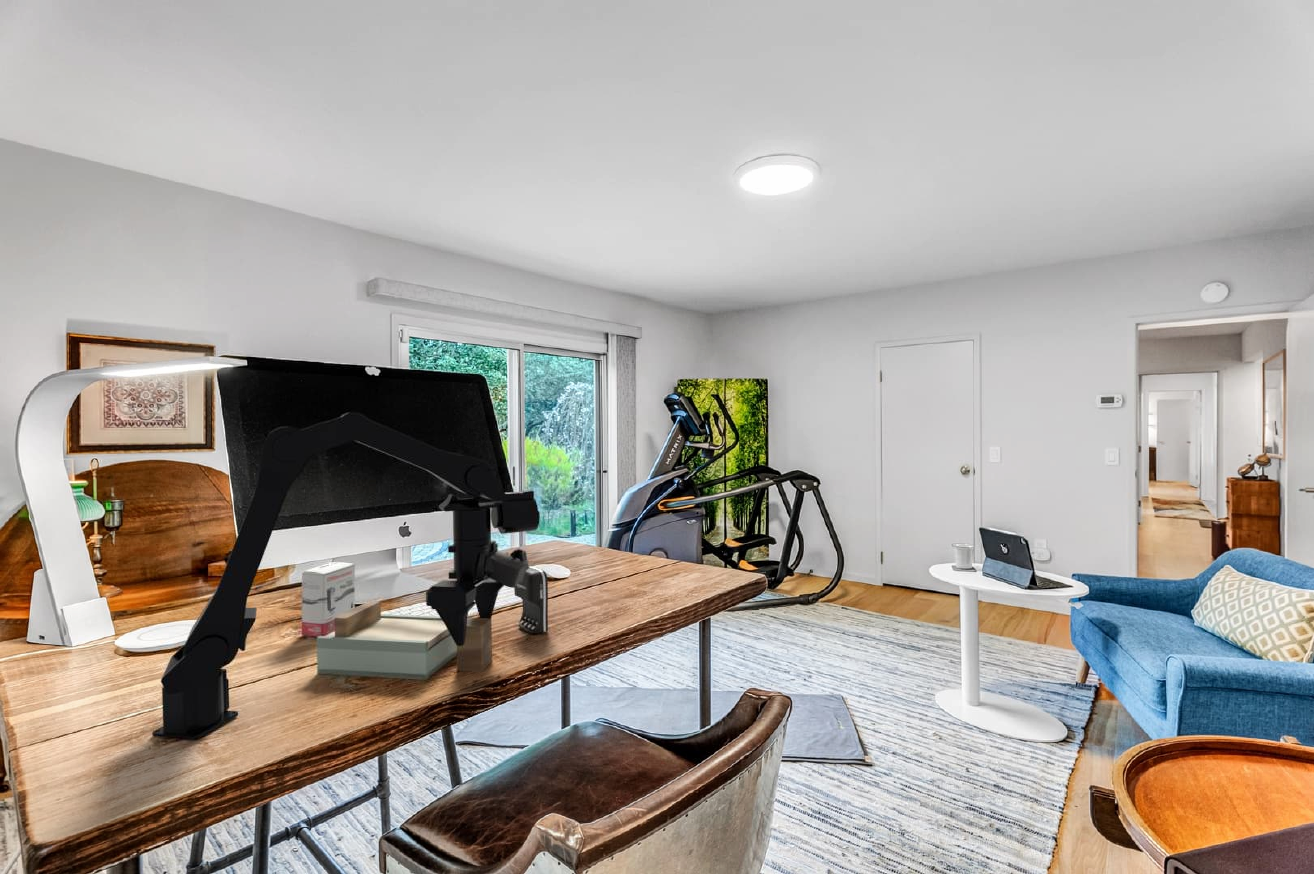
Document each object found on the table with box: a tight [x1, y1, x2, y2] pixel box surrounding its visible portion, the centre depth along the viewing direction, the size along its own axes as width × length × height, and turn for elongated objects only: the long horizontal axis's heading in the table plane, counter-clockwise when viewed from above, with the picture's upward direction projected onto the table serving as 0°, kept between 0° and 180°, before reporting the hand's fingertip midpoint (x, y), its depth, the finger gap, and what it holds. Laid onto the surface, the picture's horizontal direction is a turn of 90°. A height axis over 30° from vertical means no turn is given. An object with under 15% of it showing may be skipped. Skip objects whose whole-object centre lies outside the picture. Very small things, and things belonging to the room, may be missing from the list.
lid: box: [326, 600, 449, 648], centre depth 99 cm, size 10×18×4 cm, turn 82°
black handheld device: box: [513, 566, 549, 635], centre depth 113 cm, size 7×4×11 cm, turn 41°
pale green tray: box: [316, 613, 457, 681], centre depth 99 cm, size 12×18×6 cm, turn 82°
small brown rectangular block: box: [456, 617, 493, 672], centre depth 97 cm, size 4×4×7 cm
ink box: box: [301, 561, 356, 638], centre depth 115 cm, size 9×5×12 cm, turn 168°
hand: (473, 634), depth 97 cm, fingers open, 9 cm apart
